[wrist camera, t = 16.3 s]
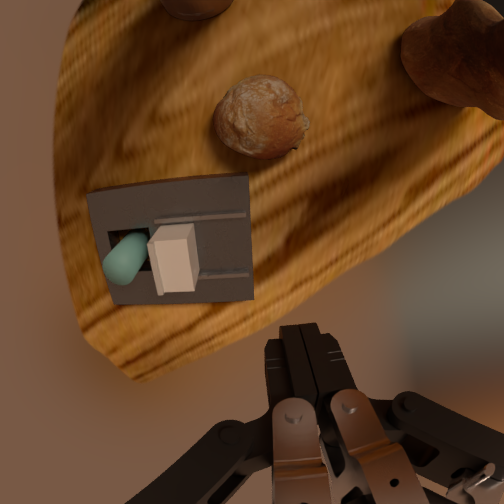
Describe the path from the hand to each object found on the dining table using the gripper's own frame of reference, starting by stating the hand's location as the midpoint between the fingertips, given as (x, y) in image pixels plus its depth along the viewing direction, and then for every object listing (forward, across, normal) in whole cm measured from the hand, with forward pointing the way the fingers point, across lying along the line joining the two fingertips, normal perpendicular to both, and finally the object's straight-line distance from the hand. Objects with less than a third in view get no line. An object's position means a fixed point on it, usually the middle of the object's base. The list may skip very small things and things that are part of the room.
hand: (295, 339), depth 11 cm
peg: (+25, +16, +5) cm, 30 cm away
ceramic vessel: (+25, -25, -20) cm, 41 cm away
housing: (+25, +11, +5) cm, 27 cm away
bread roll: (+25, -1, -10) cm, 27 cm away
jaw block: (+22, +9, +5) cm, 24 cm away
